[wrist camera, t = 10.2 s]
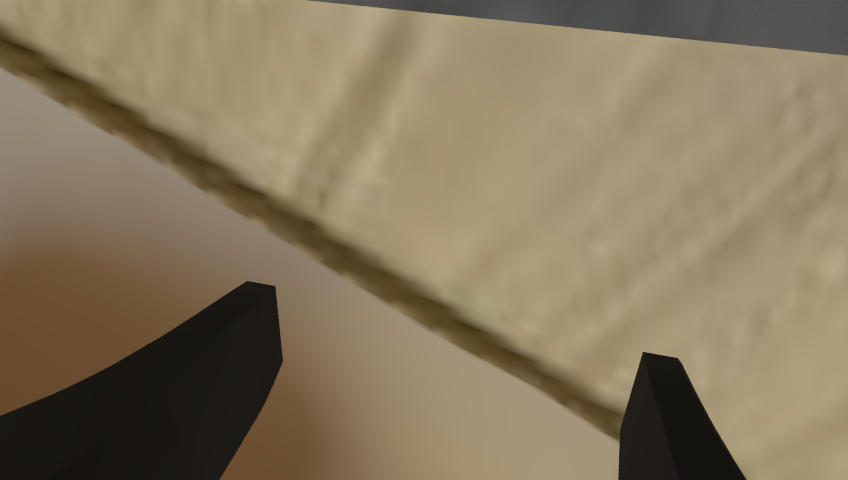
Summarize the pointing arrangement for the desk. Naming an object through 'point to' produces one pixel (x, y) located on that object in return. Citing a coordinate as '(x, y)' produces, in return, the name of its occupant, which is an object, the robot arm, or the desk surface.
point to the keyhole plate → (666, 18)
